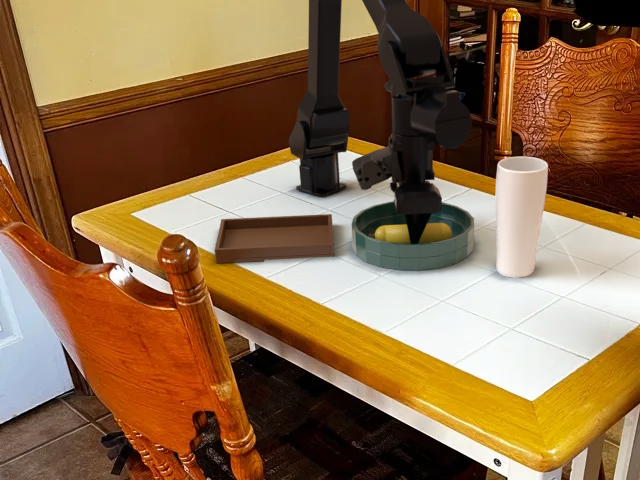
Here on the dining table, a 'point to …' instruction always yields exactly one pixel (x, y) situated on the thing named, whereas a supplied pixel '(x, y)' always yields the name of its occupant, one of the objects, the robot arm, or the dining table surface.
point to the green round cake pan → (412, 253)
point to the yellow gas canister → (401, 235)
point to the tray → (274, 238)
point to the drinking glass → (519, 213)
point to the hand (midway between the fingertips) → (413, 239)
